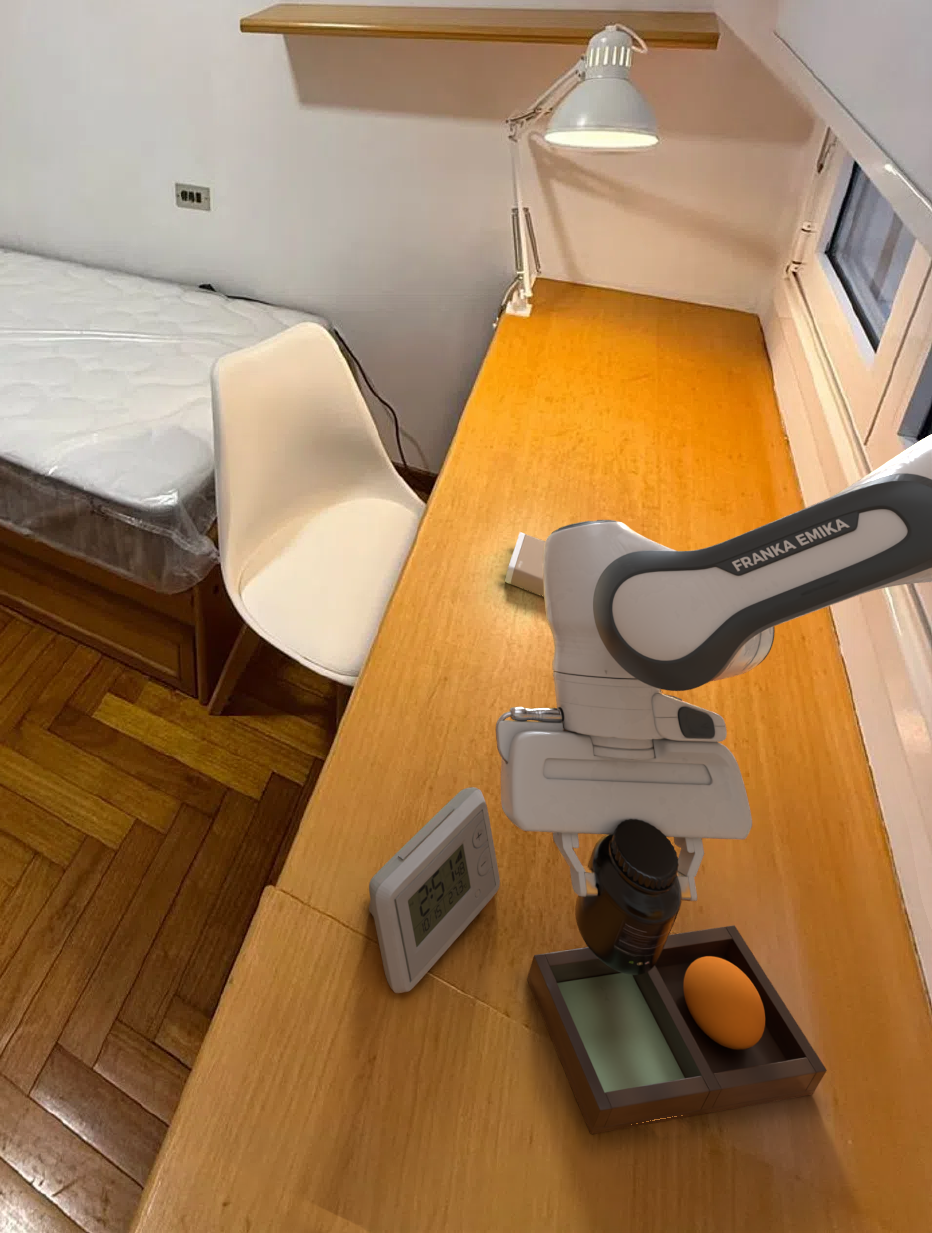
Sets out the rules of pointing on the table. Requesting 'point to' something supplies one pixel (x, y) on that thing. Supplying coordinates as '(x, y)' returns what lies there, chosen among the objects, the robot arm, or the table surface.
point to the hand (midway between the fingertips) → (635, 896)
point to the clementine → (724, 1003)
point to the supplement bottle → (631, 897)
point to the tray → (664, 1036)
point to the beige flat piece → (527, 564)
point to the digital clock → (434, 888)
